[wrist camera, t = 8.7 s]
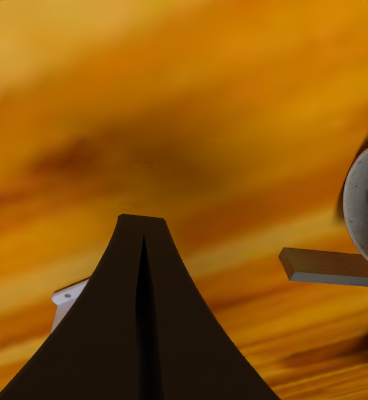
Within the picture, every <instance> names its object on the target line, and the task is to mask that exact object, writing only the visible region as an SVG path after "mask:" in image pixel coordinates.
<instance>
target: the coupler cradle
mask: <svg viewBox="0 0 368 400" xmlns="http://www.w3.org/2000/svg"><path fill="white" fill-rule="evenodd" d="M279 258H280V260H281V262H282V264H283V267H284V269H285V271H286V274H287V276H288V278H289V281H300V282H313V283H327V284H340V285H354V286H367V287H368V261H367V260H366V259H365V258H364V257H363V256H362V255H355V254H345V253H334V252H324V251H313V250H303V249H293V248H283V250H282V252H281V254H280V255H279Z"/></svg>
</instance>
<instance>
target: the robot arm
mask: <svg viewBox="0 0 368 400" xmlns="http://www.w3.org/2000/svg"><path fill="white" fill-rule="evenodd" d="M52 301H53V302H54V303H55V304H57V305H58V307H57V311H56V315H55V319H54V322H53V326H52V330H51V334H50V335H49V337H48V338H47V339H46V340H45V342H44V343H43V344H42V346H41V347H40V348H39V349H38V350H37V352H36V353H35V354H34V355H33V356H32V358H31V359H30V360H29V361H28V362H27V363H26V365H25V366H24V367H23V368H22V369H21V370H20V371H19V372H18V373H17V374H16V376H15V377H14V378H13V379H12V380H11V381H10V382H9V383H8V384H7V386H6V387H5V388H4V389H3V390H2V391H1V392H0V400H281V399H280V398H279V397H278V396H277V395H276V394H275V393H274V392H273V391H272V389H271V388H270V387H269V386H268V385H267V384H266V383H265V381H264V380H263V379H262V378H261V377H260V375H259V374H258V373H257V372H256V371H255V369H254V368H253V367H252V366H251V365H250V363H249V362H248V361H247V360H246V359H245V357H244V356H243V355H242V354H241V353H240V351H239V350H238V349H237V347H236V346H235V345H234V343H233V342H232V341H231V339H230V338H229V337H228V335H227V334H226V333H225V331H224V330H223V328H222V327H221V325H220V324H219V323H218V321H217V320H216V318H215V317H214V315H213V314H212V312H211V311H210V309H209V307H208V306H207V304H206V303H205V301H204V299H203V298H202V296H201V294H200V293H199V291H198V289H197V288H196V286H195V284H194V282H193V280H192V279H191V277H190V275H189V273H188V271H187V269H186V267H185V265H184V263H183V261H182V259H181V257H180V255H179V253H178V251H177V249H176V246H175V244H174V242H173V239H172V237H171V234H170V232H169V229H168V226H167V223H166V221H165V220H164V219H163V218H157V217H147V216H138V215H128V214H121V215H120V216H118V220H117V224H116V227H115V230H114V233H113V235H112V238H111V240H110V242H109V244H108V247H107V249H106V250H105V252H104V254H103V256H102V258H101V260H100V262H99V264H98V266H97V267H96V269H95V271H94V272H93V274H92V276H91V277H90V279H88V280H85V281H83V282H81V283H78V284H76V285H73V286H71V287H68V288H66V289H64V290H61V291H59V292H56V293H54V294H53V295H52Z"/></svg>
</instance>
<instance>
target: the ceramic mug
mask: <svg viewBox="0 0 368 400" xmlns="http://www.w3.org/2000/svg"><path fill="white" fill-rule="evenodd" d="M343 214H344V219H345V224H346V227H347V230H348V233H349V235H350V237H351V239H352V241H353V243H354V245H355V247H356V248H357V250H358V251H359V252H360V253H361V255H362V256H363V257H364V258H365V259H366V260H367V261H368V148H367V149H365V150H364V151H363V152H362V153H361V154H360V155H359V156H358V158H357V159H356V160H355V161H354V163H353V165H352V167H351V169H350V170H349V173H348V176H347V178H346V182H345V186H344V192H343Z"/></svg>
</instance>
